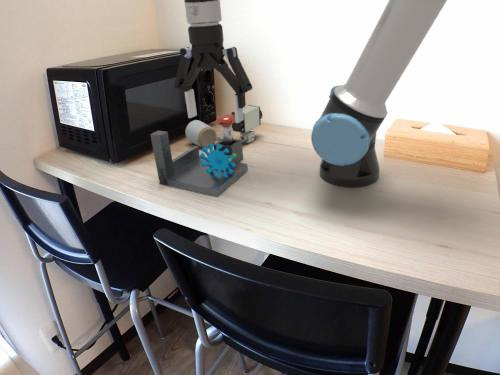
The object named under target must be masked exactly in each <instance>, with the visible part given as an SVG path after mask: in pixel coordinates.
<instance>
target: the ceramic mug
mask: <svg viewBox="0 0 500 375" xmlns="http://www.w3.org/2000/svg"><path fill="white" fill-rule="evenodd" d="M184 132H185V137H186V139H187V141H188V142H189V143H191V144H194V145H195V146H198V147H199V148H203V147H207V148H209V147H208V145H209V144H215V142H219V141H220V140H222V136H220V135H219V134H216V131H215V129H214V128H213V127H212V126H210V125H208V124H207V123H205V122H203V121H201V120H198V119H194V120H192V121H190V122H189V123H188V124H187V126H186V127H185V130H184Z"/></svg>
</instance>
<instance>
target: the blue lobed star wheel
mask: <svg viewBox="0 0 500 375" xmlns="http://www.w3.org/2000/svg"><path fill="white" fill-rule="evenodd" d="M214 144H215V143H213V144H209V145H208V147H201V153H199V155H200V156H199V158H201V159H204V160H206V161H207V162H208V163H206V162H205V161H202V162H201V166H202V167H204V166H209V168H207V169H206V172H207V174H210V173H211V172H212V171H213V170H216V171H217V173H215V174H214V177H215V178H218V177H219V176H220V175H219V173H220V171H222V172H223V175H222V178H227V177H228V175H227V173H226V169H227V170H228V174H229V175H231V174H232V173H233V172H234V171H233V170H232V169H231V168H234V167H235V165H236V164H235V163H232V161H233V160H234V158H235V157H236V154H235V153H233V154H232V155H230V156H227V155H225V154H228V152H229V150H228V149H227V148H225V150H224V151H221V152H220V151H219V149H221V147H222V146H221V145H220V144H218V145H217V146H216V150H215V151H214ZM208 149H209V151H208ZM224 153H225V154H224ZM228 164H229V165H230V167H231V168H230V167H229V165H228Z"/></svg>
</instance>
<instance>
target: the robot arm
mask: <svg viewBox="0 0 500 375" xmlns="http://www.w3.org/2000/svg"><path fill="white" fill-rule="evenodd" d="M447 2H448V0H388V2H387V4H386V5H385V8H384V9H383V12H382V14H381V15H380V17H379V19H378V21H377V23H376V25H375V27H374V29H373V31H372V32H371V35H370V37H369V39H368V41H367V43H366V44H365V46H364V48H363V50H362V52H361V54H360V56H359V58H358V60H357V62H356V64H355V66H354V68H353V69H352V72H351V73H350V75H349V77H348V78H347V81H346V83H344V84H342V85H339V84H338V85H334V86H333V87H331V89H330V93H329V95H328V96H329V99H328V101H327V104H326V105H325V108H324V109H323V112H322V114H321V115H320V117H319V118H318V120H316V121H315V122H314V124H313V127H312V132H311V136H310V137H311V138H310V139H311V144H312V147H313V150H314V151H315V153H316V154H317V155H318V156H319V157H320V159H321V161H320V164H319V175H320V176H319V177H321V179H322V180H324V181H326V182H327V183H330V184H332V185H336V186H340V187H347V188H357V187H358V188H359V187H366V186H369V185H371V184H374V183H375V182H377V181H378V179H379V174H380V164H379V160H378V157H377V152H376V141H377V140H376V139H377V131H378V130H379V128H380V126H381V125H382V123H383V122H384V120H385V119H386V117H387V115H388V110H387V105H386V102H387V100H388V99H389V97H390V96H391V94H392V92H393V90H395V88H396V86H397V83H398V82H399V81H400V79H401V77H402V75H403V74H404V72H405V71H406V69H407V68H408V66H409V64H410V62H411V61H412V59H413V57H414V56H415V54H416V52H417V51H418V49H419V47H420V46H421V45H422V43H423V41H424V39H425V37H426V36H427V35H428V33H429V31H430V30H431V28H432V26H433V24H434V23H435V21H436V20H437V18H438V17H439V14H440V13H441V11H442V10H443V8H444V6H445V4H446V3H447ZM184 8H185V16H186V23H187V24H188V25H190V26H188V28H187V33H188V38H189V40H188V42H189V43H190V45H191V47H190V46H187V47H182V48H180V49H179V54H180V57H179V59H180V60H179V63H178V67H177V71H176V77H175V80H174V84H173V86H174V88H176V89H178V90H181V92H182V98H183V102H184V104H185V105H186V112H187V117H188V119H192V118H194V117H197V116H198V113H197V106H196V105H197V104H196V98H195V91H194V89H193V88H192V86H193V84H194V83H195V81H196V79H197V77H198V75H199V74H200V72H201V70H205V69H208V70H216V72H218V73H220V74H221V76H222V77H223V79H225V81H226V82H227V83H228V85H229V86H230V87H231V89H232V90H233V91H234V93H235V94H233V95H232V99H233V107H234V110H233V111H235V123H239V122H241V121H242V120H244V116H243V108H244V107H245V106H247V105H246V103H247V102H246V93H248V92H249V91H251V90H253V85H252V83H251V81H250V79H249V76H248V75H247V72H246V71H245V68H244V66H243V64H242V62H241V61H240V58H239V55H238V54H239V53H238V50H237V47H236V46H232V47H229V48H225V47H224V31H223V25H222V24H221V23H220V22H222V21H223V20H222V19H223V18H222V17H223V16H222V9H221V0H184ZM224 57H225V58H226V59H227V61H228V63H229V64H228V63H227V61H226V60H225V58H224ZM191 58H193V62H192V64H191ZM190 64H191V66H190ZM229 65H230V67H231V68H230V67H229ZM189 67H190V69H189ZM231 69H232V70H231ZM188 70H189V71H188Z"/></svg>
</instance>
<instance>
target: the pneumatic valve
mask: <svg viewBox="0 0 500 375" xmlns="http://www.w3.org/2000/svg"><path fill="white" fill-rule="evenodd" d="M230 114H232V115H234V116H235V111H234V110H233V111H231V113H230ZM243 116H244V120H242V121H241V122H239V123H234V124H232V132H235V133H236V132H237V133H239V135H240V137H239V140H242V143H246V144H249V145H250V143H252V142H254V141H255V135H256V133H255V130H254V129H256V128H257V127H259V126H261V122H262V121H261V120H262V118H263V111H262V110H261V107H260V106H259V105H258V106H256V105H252V104H248V105H245V107H244V108H243Z"/></svg>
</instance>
